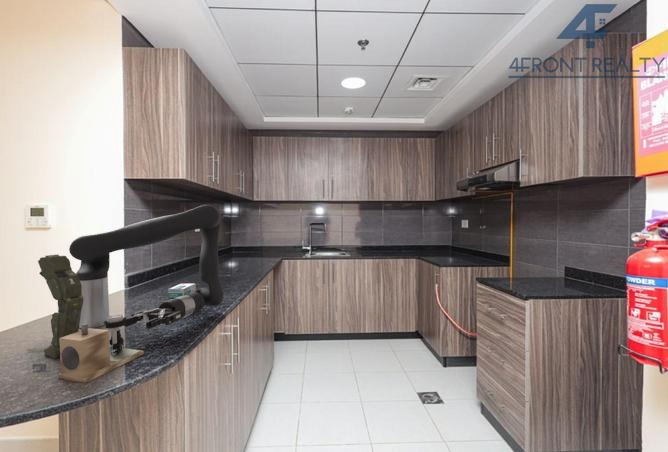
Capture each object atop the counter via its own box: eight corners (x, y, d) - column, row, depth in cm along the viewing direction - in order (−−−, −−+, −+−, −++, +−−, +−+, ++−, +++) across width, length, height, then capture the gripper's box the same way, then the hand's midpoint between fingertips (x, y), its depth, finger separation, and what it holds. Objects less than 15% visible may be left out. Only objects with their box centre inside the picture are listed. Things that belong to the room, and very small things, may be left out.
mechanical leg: (101, 349, 92) (79, 249, 93) (73, 360, 85) (51, 252, 86) (71, 354, 96) (51, 259, 98) (42, 365, 89) (21, 262, 91)
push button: (124, 355, 86) (122, 319, 86) (100, 359, 84) (99, 322, 84) (129, 346, 92) (128, 312, 92) (108, 349, 90) (106, 315, 90)
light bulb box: (185, 315, 125) (184, 288, 125) (168, 315, 125) (167, 288, 125) (197, 307, 136) (196, 282, 136) (181, 308, 136) (180, 283, 136)
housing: (84, 383, 74) (82, 331, 74) (57, 378, 77) (55, 328, 76) (143, 354, 90) (141, 311, 89) (119, 351, 92) (117, 309, 92)
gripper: (160, 296, 110) (116, 310, 94) (194, 298, 106) (154, 313, 90) (161, 318, 110) (117, 335, 95) (195, 320, 106) (155, 339, 91)
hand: (135, 324), depth 92 cm, fingers open, 8 cm apart
